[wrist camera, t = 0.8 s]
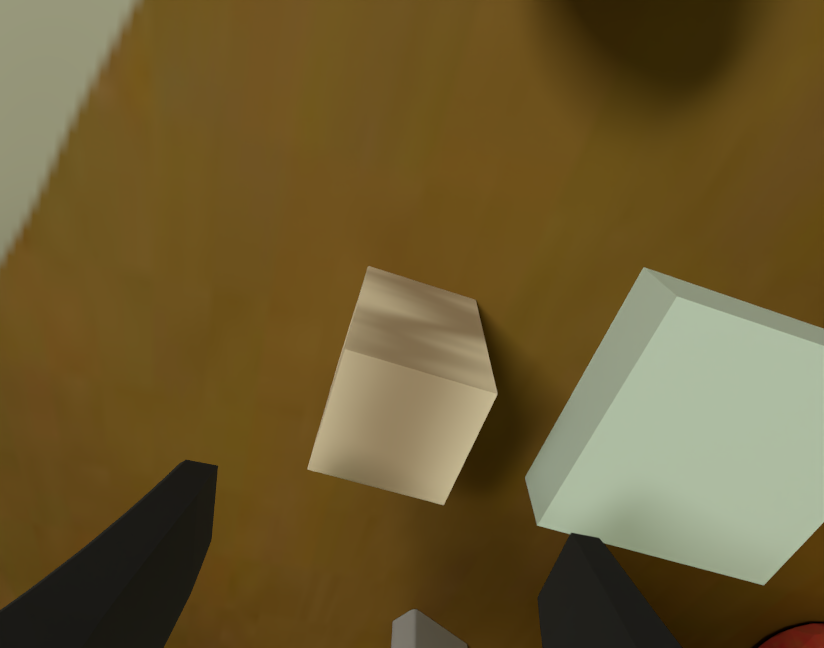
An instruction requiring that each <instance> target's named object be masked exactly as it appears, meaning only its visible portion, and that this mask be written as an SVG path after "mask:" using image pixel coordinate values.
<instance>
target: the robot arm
mask: <svg viewBox="0 0 824 648" xmlns="http://www.w3.org/2000/svg"><path fill="white" fill-rule="evenodd" d="M217 470H218V466H216V465H211V464H206V463H201V462H195V461H190V460H185V461H183V462H181V463H180V464H179V465H178V466H176V467H175V468H174V469H173V470H172V471H171V472H170V473H169V474H168V475H167V476H166V477H165V478H164V479H163V480H162V481H161V482H159V483H158V484H157V485H156V486H155V487H154V488H153V489H152V490H151V491H150V492H149V493H147V494H146V495H145V496H144V497H143V498H142V499H141V500H140V501H138V502H137V503H136V504H135V505H134V506H133V507H132V508H130V509H129V510H128V511H127V512H126V513H125V514H124V515H122V516H121V517H120V518H119V519H118V520H116V521H115V522H114V523H113V524H112V525H110V526H109V527H108V528H107V529H106V530H104V531H103V532H102V533H101V534H100V535H98V536H97V537H96V538H95V539H94V540H92V541H91V542H90V543H89V544H88V545H86V546H85V547H84V548H83V549H81V550H80V551H79V552H78V553H76V554H75V555H74V556H72V557H71V558H70V559H68V560H67V561H66V562H65V563H63V564H62V565H61V566H59V567H58V568H57V569H55V570H54V571H53V572H52V573H50V574H49V575H48V576H46V577H45V578H44V579H42V580H41V581H40V582H39V583H37V584H36V585H35V586H33V587H32V588H31V589H29V590H28V591H26V592H25V593H24V594H22V595H21V596H20V597H18V598H17V599H15V600H14V601H13V602H11V603H10V604H8V605H7V606H6V607H4V608H3V609H1V610H0V648H164V646H165V644H166V642H167V640H168V638H169V636H170V634H171V632H172V630H173V628H174V626H175V624H176V622H177V620H178V618H179V616H180V614H181V612H182V610H183V608H184V606H185V604H186V602H187V600H188V598H189V596H190V594H191V591H192V589H193V586H194V584H195V581H196V579H197V576H198V574H199V571H200V569H201V566H202V563H203V561H204V558H205V555H206V553H207V550H208V547H209V545H210V542H211V539H212V527H213V516H214V504H215V493H216V481H217ZM538 607H539V618H540V629H541V637H542V646H543V648H682V647H681V645H680V644H679V643H678V642H677V640H676V639H675V638H674V636H673V635H672V634H671V632H670V631H669V630H668V629H667V627H666V626H665V625H664V623H663V622H662V621H661V619H660V618H659V617H658V615H657V614H656V613H655V611H654V610H653V609H652V607H651V606H650V605H649V603H648V602H647V601H646V599H645V598H644V597H643V595H642V594H641V593H640V591H639V590H638V589H637V587H636V586H635V585H634V583H633V582H632V580H631V579H630V578H629V576H628V575H627V574H626V572H625V571H624V570H623V568H622V567H621V566H620V564H619V563H618V562H617V560H616V559H615V558H614V556H613V555H612V554H611V552H610V551H609V550H608V548H607V547H606V546H605V544H604V543H603V542H602V541H601V539H600V538H597V537H592V536H587V535H581V534H576V533H571V534H570V536H569V538H568V540H567V542H566V543H565V545H564V547H563V549H562V551H561V553H560V555H559V557H558V559H557V561H556V563H555V565H554V567H553V569H552V571H551V572H550V574H549V576H548V578H547V580H546V582H545V584H544V586H543V588H542V590H541V592H540V594H539V596H538Z"/></svg>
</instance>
